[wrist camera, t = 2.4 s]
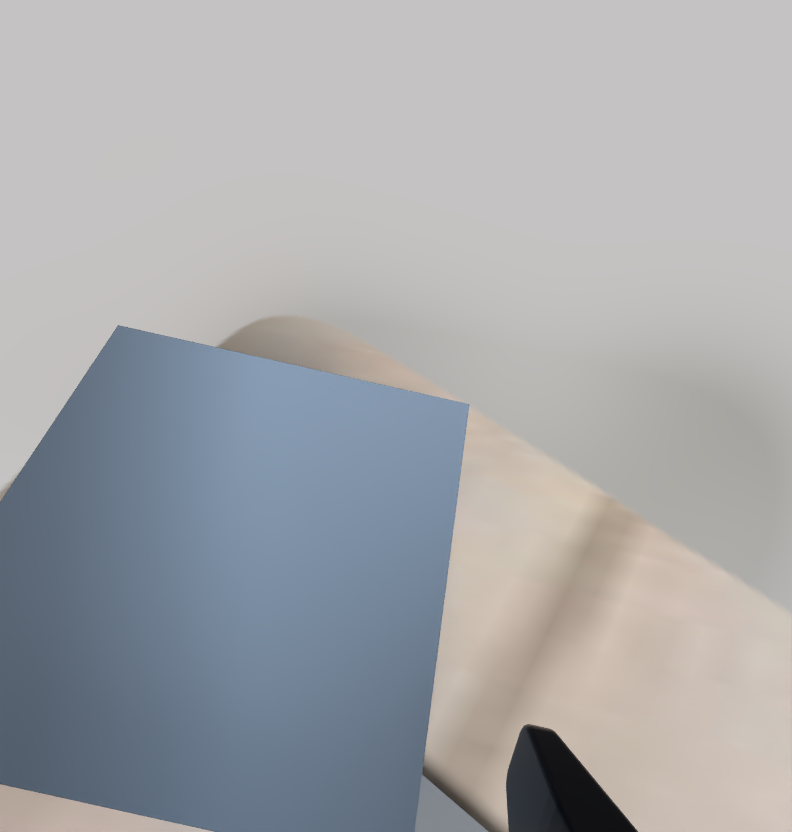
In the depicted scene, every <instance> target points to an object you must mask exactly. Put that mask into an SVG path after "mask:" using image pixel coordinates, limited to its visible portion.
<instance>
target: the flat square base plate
mask: <svg viewBox="0 0 792 832" xmlns="http://www.w3.org/2000/svg"><path fill="white" fill-rule="evenodd" d="M415 832H488V831H487V830H486V829H485V828H484V827H483V826H481V825H480V824H479V823H478V822H477V821H476V820H474V819H473V818H472V817H471V816H470V815H469V814H467V813H466V812H465V811H464V810H463V809H462V808H460V807H459V806H458V805H457V804H456V803H455V802H453V801H452V800H451V799H450V798H449V797H448V796H446V795H445V794H444V793H443V792H442V791H441V790H439V789H438V788H437V787H436V786H435V785H434V784H433V783H431V782H430V781H429V780H428V779H427V778H426V777H424V776H423V775H422V778H421V785H420V793H419V801H418V809H417V817H416V825H415Z"/></svg>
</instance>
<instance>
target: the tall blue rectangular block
mask: <svg viewBox="0 0 792 832" xmlns="http://www.w3.org/2000/svg"><path fill="white" fill-rule="evenodd" d="M468 410H469V404H465V403H461V402H457V401H452V400H448V399H443V398H439V397H434V396H430V395H425V394H421V393H417V392H412V391H408V390H403V389H399V388H394V387H390V386H385V385H381V384H377V383H372V382H368V381H363V380H359V379H354V378H350V377H345V376H341V375H337V374H332V373H328V372H323V371H319V370H314V369H310V368H305V367H301V366H297V365H292V364H288V363H283V362H279V361H274V360H270V359H265V358H261V357H257V356H252V355H248V354H243V353H239V352H234V351H230V350H225V349H221V348H217V347H212V346H208V345H203V344H199V343H194V342H190V341H185V340H181V339H177V338H172V337H168V336H163V335H159V334H154V333H150V332H145V331H141V330H136V329H132V328H128V327H123V326H119V325H118V326H117V328H116V329H115V331H114V332H113V334H112V336H111V337H110V338H109V340H108V341H107V343H106V345H105V346H104V347H103V349H102V350H101V352H100V353H99V355H98V356H97V358H96V359H95V361H94V362H93V364H92V365H91V367H90V368H89V370H88V371H87V373H86V374H85V376H84V377H83V379H82V381H81V382H80V383H79V385H78V386H77V388H76V389H75V391H74V392H73V394H72V396H71V397H70V398H69V400H68V401H67V403H66V404H65V406H64V408H63V409H62V410H61V412H60V413H59V415H58V416H57V418H56V419H55V421H54V422H53V424H52V425H51V427H50V428H49V430H48V431H47V433H46V434H45V436H44V437H43V439H42V440H41V442H40V443H39V445H38V446H37V448H36V449H35V451H34V452H33V454H32V455H31V457H30V458H29V460H28V461H27V463H26V464H25V466H24V467H23V469H22V470H21V472H20V473H19V475H18V476H17V478H16V479H15V481H14V482H13V484H12V485H11V487H10V488H9V490H8V491H7V493H6V494H5V496H4V497H3V499H2V500H1V502H0V784H2V785H7V786H11V787H16V788H20V789H25V790H29V791H34V792H38V793H43V794H47V795H52V796H56V797H61V798H66V799H70V800H75V801H79V802H84V803H88V804H93V805H97V806H102V807H106V808H111V809H115V810H120V811H124V812H129V813H133V814H138V815H142V816H147V817H151V818H156V819H160V820H165V821H169V822H174V823H178V824H183V825H187V826H192V827H196V828H201V829H205V830H210V831H214V832H415V825H416V817H417V809H418V801H419V793H420V785H421V778H422V770H423V762H424V754H425V746H426V739H427V731H428V723H429V715H430V707H431V699H432V692H433V684H434V676H435V668H436V660H437V653H438V645H439V637H440V629H441V621H442V613H443V606H444V598H445V590H446V582H447V574H448V567H449V559H450V551H451V543H452V535H453V527H454V520H455V512H456V504H457V496H458V488H459V481H460V473H461V465H462V457H463V449H464V441H465V434H466V426H467V418H468Z"/></svg>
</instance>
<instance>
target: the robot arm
mask: <svg viewBox="0 0 792 832" xmlns="http://www.w3.org/2000/svg"><path fill="white" fill-rule="evenodd" d="M506 793H507V809H508V825H509V832H638V831H637V830H636V829H635V827H634V826H633V825H632V824H631V823H630V821H629V820H628V819H627V818H626V816H625V815H624V814H623V813H622V812H621V810H620V809H619V808H618V807H617V806H616V804H615V803H614V802H613V801H612V800H611V798H610V797H609V796H608V795H607V794H606V792H605V791H604V790H603V789H602V788H601V786H600V785H599V784H598V783H597V782H596V780H595V779H594V778H593V777H592V776H591V774H590V773H589V772H588V771H587V770H586V768H585V767H584V766H583V765H582V764H581V762H580V761H579V760H578V759H577V758H576V756H575V755H574V754H573V753H572V752H571V750H570V749H569V748H568V747H567V745H566V744H565V743H564V742H563V741H562V739H561V738H560V737H559V736H558V735H557V734H556V733H555V732H554V731H553V730H551V729H548V728H544V727H539V726H535V725H531V724H527V725H525V726H524V727H523V728H522V729H521V732H520V734H519V737H518V740H517V743H516V747H515V750H514V753H513V756H512V759H511V762H510V765H509V768H508V773H507V780H506Z"/></svg>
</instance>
